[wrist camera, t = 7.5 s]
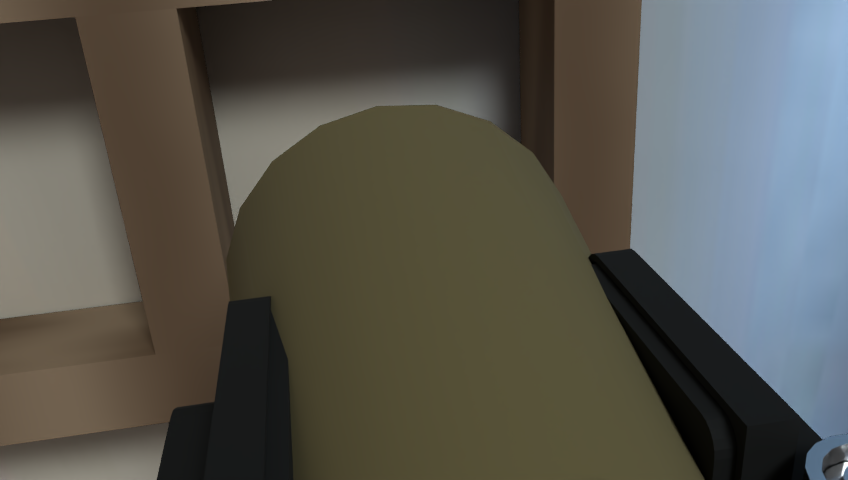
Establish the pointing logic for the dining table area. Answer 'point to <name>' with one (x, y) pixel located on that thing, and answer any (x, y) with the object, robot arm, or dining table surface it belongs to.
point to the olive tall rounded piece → (443, 311)
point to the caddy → (211, 210)
